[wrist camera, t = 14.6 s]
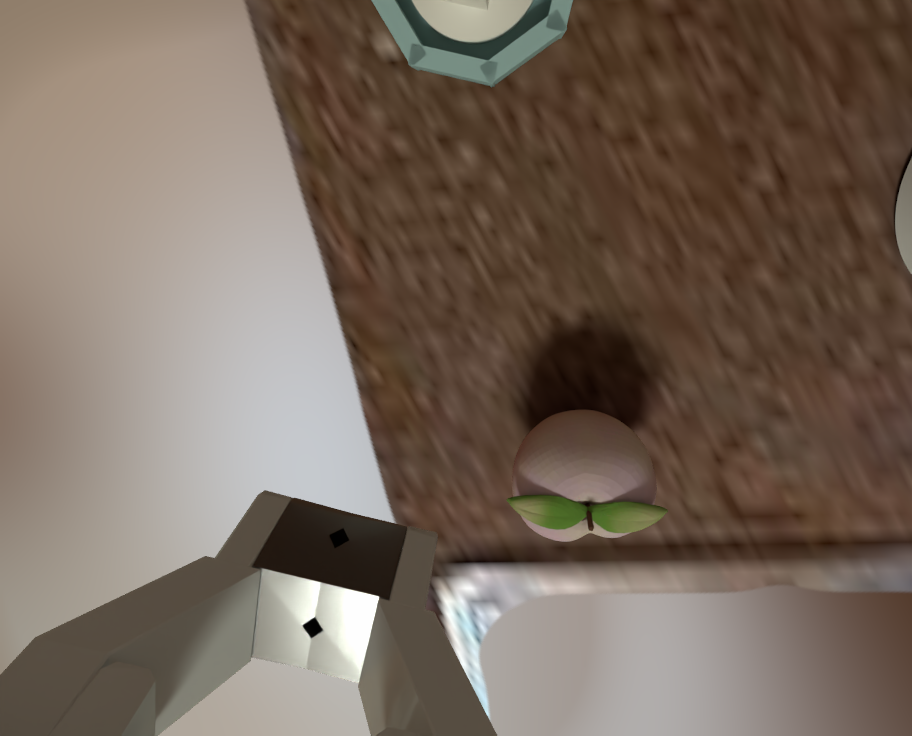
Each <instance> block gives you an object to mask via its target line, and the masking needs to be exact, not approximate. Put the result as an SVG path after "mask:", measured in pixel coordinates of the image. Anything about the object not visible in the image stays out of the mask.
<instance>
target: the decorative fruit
mask: <svg viewBox="0 0 912 736" xmlns="http://www.w3.org/2000/svg"><path fill="white" fill-rule="evenodd" d="M656 489H657V487H656V477H655V472H654V468H653V465H652V462H651V459H650V456H649V454H648V451H647V449H646V448H645V446H644V444H643V443H642V441H641V440H640V438H639V437H638V436H637V435H636V434H635V433H634V432H633V431H632V430H631V429H630V428H629V427H628V426H626V425H625V424H624V423H622V422H621V421H619V420H617V419H615V418H614V417H612V416H609V415H607V414H605V413H602V412H598V411H594V410H570V411H565V412H561V413H557V414H554V415H552V416H550V417H548V418H546V419H544V420H543V421H542V422H540V423H539V424H538V425H537V426H535V427H534V428H533V429H532V430H531V431H530V432H529V433H528V434H527V436H526V437H525V439H524V440H523V442H522V444H521V445H520V447H519V450H518V452H517V455H516V458H515V461H514V466H513V474H512V491H513V497H511V498H508V499H507V501H508V502H509V504H510V505H511V506H512V507H513V508H514V509H515V510H516V512H518V513H519V514H520V515H521V517H522V518H523V520H524V521H525V522H526V524H527V525H528V526H529V527H530V528H531V529H533V530H534V531H535V532H537V533H538V534H540V535H542V536H544V537H546V538H549V539H553V540H556V541H563V542H565V541H572V540H576V539H578V538H580V537H582V536H584V535H586V534H588V533H593V534H596V535H599V536H602V537H608V538H617V537H621V536H624V535H626V534H628V533H631V532H635V531H639V530H641V529H644V528H646V527H648V526H650V525H652V524H654V523H655V522H657V521H658V520H660V519H661V518H662V517H663V516H664V515H665V514H666V513H667V512H668V510H667V509H665V508H663V507H660V506H656V505H654V503H655V498H656Z"/></svg>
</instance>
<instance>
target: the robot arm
mask: <svg viewBox="0 0 912 736" xmlns="http://www.w3.org/2000/svg"><path fill="white" fill-rule="evenodd" d="M895 230H896V238H897V243H898V247H899V250H900V253H901V256H902V258H903V261H904V263H905V265H906V266H907V268H908V270H909V271H910V273H911V274H912V158H911V160H910V162H909V164H908V167H907V169H906V172H905V174H904V177H903V180H902V183H901V186H900V190H899V194H898V198H897V204H896V213H895ZM406 531H407V532H406ZM405 535H406V536H405ZM404 539H405V540H404ZM437 539H438V536H437V532H432V531H428V530H423V529H419V528H415V527H410V526H409V527H408V529H407V526H403V525H399V524H395V523H391V522H386V521H382V520H378V519H374V518H370V517H365V516H361V515H357V514H353V513H349V512H345V511H341V510H338V509H334V508H331V507H327V506H323V505H319V504H316V503H312V502H308V501H305V500H301V499H297V498H291V497H287V496H284V495H280V494H276V493H273V492H269V491H263V492H262V493H260V494H259V495H258V496H257V497H256V499H255V500H254V502H253V503H252V504H251V506H250V508H249V509H248V510H247V512H246V513H245V515H244V516H243V518H242V519H241V521H240V522H239V523H238V525H237V526H236V528H235V529H234V531H233V532H232V534H231V535H230V537H229V538H228V540H227V541H226V542H225V544H224V545H223V547H222V548H221V550H220V551H219V553H218V554H217V556H216V557H215V558H211V557H207V556H205V557H202V558H200V559H198V560H196V561H194V562H192V563H190V564H188V565H186V566H184V567H182V568H179V569H177V570H175V571H173V572H171V573H169V574H167V575H165V576H163V577H161V578H159V579H157V580H155V581H152V582H150V583H148V584H146V585H144V586H142V587H140V588H138V589H135V590H133V591H131V592H129V593H127V594H125V595H123V596H121V597H119V598H117V599H115V600H112V601H110V602H109V603H106V604H104V605H102V606H100V607H98V608H96V609H94V610H92V611H89V612H87V613H86V614H83V615H81V616H79V617H77V618H75V619H73V620H71V621H69V622H67V623H64V624H62V625H60V626H58V627H56V628H54V629H52V630H50V631H48V632H46V633H43V634H42V635H39V636H37V637H35V638H34V639H33V640H32V641H31V643H30V644H29V645H28V646H27V647H26V648H25V649H24V650H23V651H22V652H21V654H19V656H18V657H17V658H16V659H15V660H14V661H13V662H12V663H11V664H10V665H9V666H8V667H7V669H5V670H4V672H3V673H2V674H1V675H0V736H158V735H159V734H160V733H162V732H163V731H164V730H165V729H167V728H168V727H169V726H170V725H171V724H173V723H174V722H175V721H177V720H178V719H179V718H180V717H181V716H183V715H184V714H185V713H186V712H188V711H189V710H190V709H191V708H193V707H194V706H195V705H196V704H198V703H199V702H200V701H201V700H203V699H204V698H205V697H206V696H207V695H209V694H210V693H211V692H213V691H214V690H215V689H216V688H218V687H219V686H220V685H221V684H222V683H224V682H225V681H226V680H227V679H229V678H230V677H231V676H232V675H234V674H235V673H236V672H237V671H239V670H240V669H241V668H242V667H243V666H245V665H246V664H247V663H248V662H250V661H251V657H252V658H257V659H262V660H266V661H271V662H276V663H281V664H285V665H290V666H295V667H300V668H304V669H308V670H312V671H315V672H320V673H323V674H326V675H330V676H334V677H337V678H341V679H345V680H348V681H352V682H356V683H359V685H358V688H359V691H360V696H361V699H362V703H363V707H364V711H365V714H366V718H367V722H368V726H369V730H370V734H371V736H497V734H496V732H495V730H494V728H493V726H492V724H491V722H490V720H489V718H488V716H487V715H486V713H485V711H484V709H483V707H482V705H481V703H480V701H479V699H478V697H477V695H476V693H475V691H474V689H473V687H472V685H471V683H470V681H469V679H468V677H467V675H466V673H465V671H464V669H463V668H462V666H461V664H460V662H459V660H458V658H457V656H456V654H455V652H454V650H453V648H452V646H451V644H450V642H449V640H448V638H447V636H446V634H445V632H444V630H443V628H442V626H441V624H440V622H439V621H438V619H437V617H436V615H435V613H434V612H432V611H428V610H425V608H426V602H427V596H428V590H429V585H430V579H431V573H432V568H433V562H434V556H435V550H436V545H437ZM403 543H404V544H403ZM402 547H403V548H402Z"/></svg>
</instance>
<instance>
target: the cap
mask: <svg viewBox="0 0 912 736" xmlns="http://www.w3.org/2000/svg"><path fill="white" fill-rule="evenodd" d="M533 1H534V0H412V2H413V3H414V5H415V7H416V8H417V10H418V11H419V13H420V14H421V16H422V17H423V18H424V19H425V20H426V21H427V23H428V24H429V25H430V26H431V27H432V28H433V29H434V30H436V31H437V32H438V33H440V34H441V35H443V36H444V37H446V38H448V39H450V40H453V41H456V42H459V43H465V44H481V43H487V42H490V41H493V40H495V39H497V38H499V37H502V36H503V35H505V34H506V33H508V32H509V31H511V30H512V29H513V28H514V27H515V26H516V25H517V24H518V23H519V22H520V21H521V20H522V19H523V18H524V16H525V15H526V13H527V12H528V10H529V9H530V7H531V5H532V3H533Z"/></svg>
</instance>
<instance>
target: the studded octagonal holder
mask: <svg viewBox="0 0 912 736" xmlns="http://www.w3.org/2000/svg"><path fill="white" fill-rule="evenodd" d="M372 2H373V4H374V5H375V7H376V9H377V10H378V12H379V14H380V15H381V17H382V19H383V20H384V22H385V24H386V25H387V27H388V29H389V30H390V32H391V34H392V35H393V37H394V39H395V40H396V42H397V44H398V45H399V47H400V49H401V50H402V52H403V54H404V55H405V57H406V59H407V60H408V62H409V63H408V64H409V65H410V66H411V67H413V68H415V69H416V70H418V71H419V70H424V71H428V72H433V73H437V74H441V75H446V76H450V77H454V78H459V79H463V80H467V81H472V82H476V83H480V84H485V85H489V86H491V87H492V86H494V87H495V84H497V83H498V82H499V81H501V80H502V79H503V78H505V77H506V76H508V75H509V74H510V73H512V72H513V71H515V70H516V69H517V68H519V67H520V66H521V65H523V64H524V63H526V62H527V61H528V60H530V59H531V58H532V57H534V56H535V55H537V54H538V53H539V52H541V51H542V50H544V49H545V48H546V47H548V46H549V45H550V44H552V43H553V42H555V41H556V40H557V39H561V38H562V36H563V35H564V33H565V31H566V30H567V27H566V26H567V22H568V18H569V14H570V10H571V6H572V2H573V0H534V1H533V3H532V5H531V7H530V9H529V10H528V12H527V13H526V15H525V16H524V18H523V19H522V20H521V21H520V22H519V23H518V24H517V25H516V26H515V27H514V28H513V29H512V30H511V31H509V32H508V33H506V34H505V35H503V36H502V37H499V38H497V39H495V40H493V41H490V42H487V43H481V44H465V43H459V42H456V41H453V40H450V39H448V38H446V37H444V36H443V35H441V34H440V33H438V32H437V31H436V30H434V29H433V28H432V27H431V26H430V25H429V24H428V23H427V21H426V20H425V19H424V18H423V17H422V16H421V14H420V13H419V11H418V10H417V8H416V7H415V5H414V3H413V2H412V0H372Z"/></svg>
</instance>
